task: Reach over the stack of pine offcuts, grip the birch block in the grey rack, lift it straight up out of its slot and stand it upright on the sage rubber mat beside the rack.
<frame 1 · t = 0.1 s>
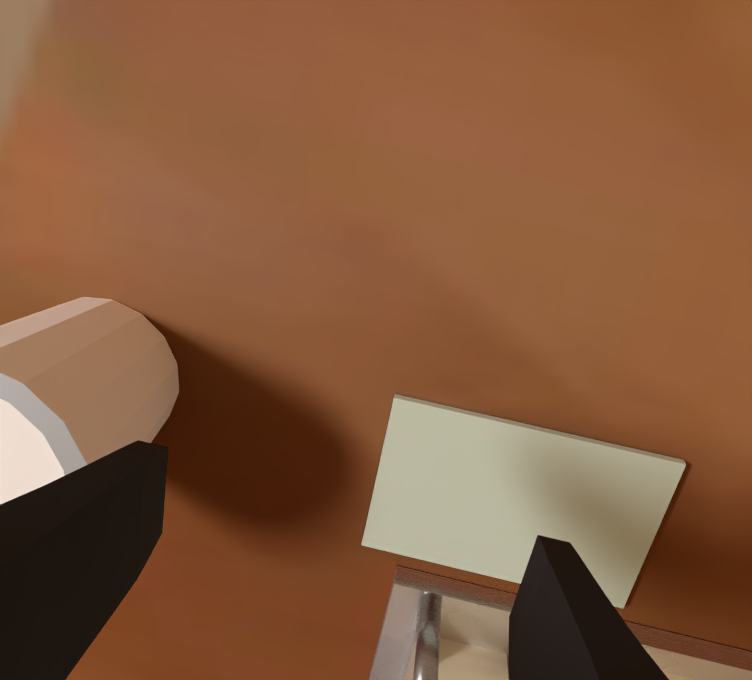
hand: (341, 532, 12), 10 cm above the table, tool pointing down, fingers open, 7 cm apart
white cylinder: (108, 368, 24), on the table
mat: (512, 502, 23), on the table
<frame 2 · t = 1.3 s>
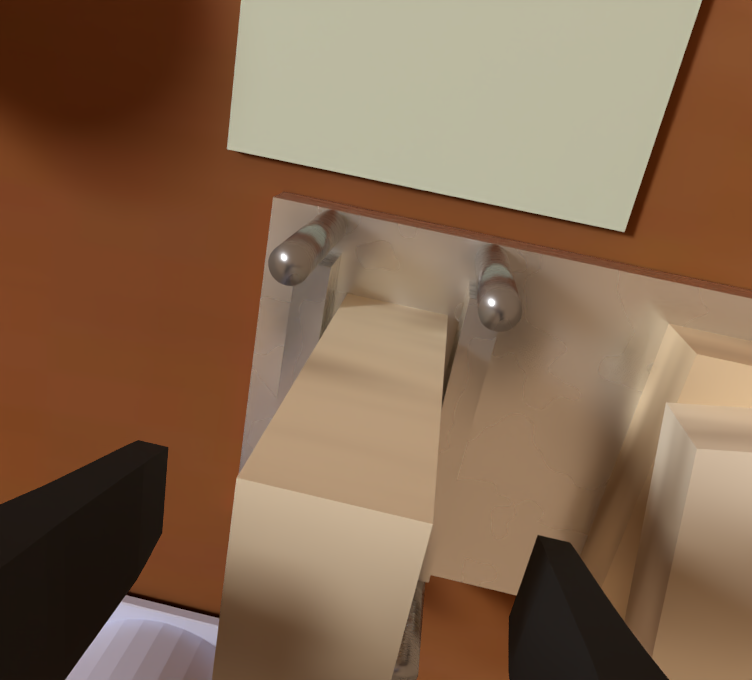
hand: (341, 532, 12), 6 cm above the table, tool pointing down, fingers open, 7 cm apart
birch block: (375, 408, 17), point 1 cm above the table, touching rack
mat: (452, 50, 15), on the table
rack: (536, 427, 18), on the table
offcut upper: (741, 532, 15), point 3 cm above the table, touching offcut lower
offcut lower: (710, 484, 17), point 1 cm above the table, touching offcut upper, rack
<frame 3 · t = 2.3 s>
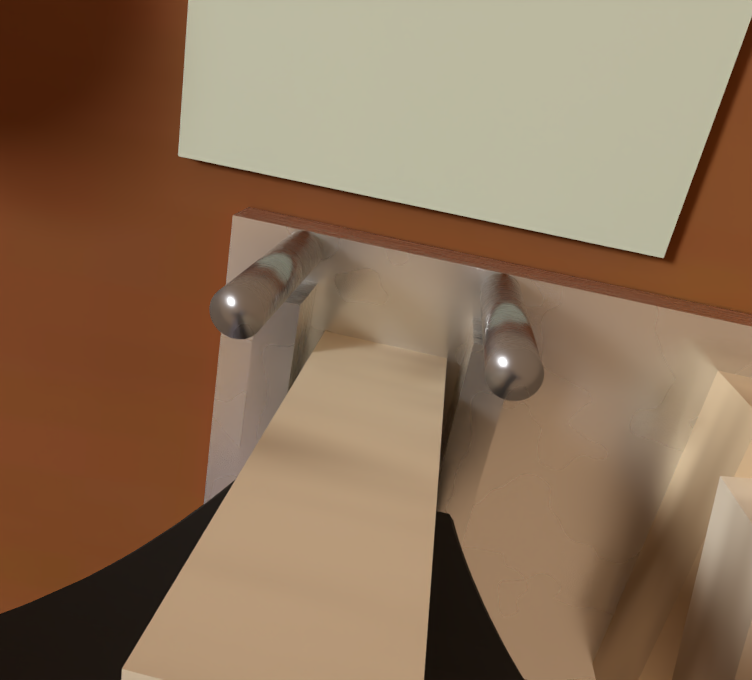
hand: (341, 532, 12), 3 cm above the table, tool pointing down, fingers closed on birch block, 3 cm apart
birch block: (360, 465, 14), point 1 cm above the table, touching gripper, rack
mat: (452, 34, 12), on the table
rack: (552, 486, 15), on the table
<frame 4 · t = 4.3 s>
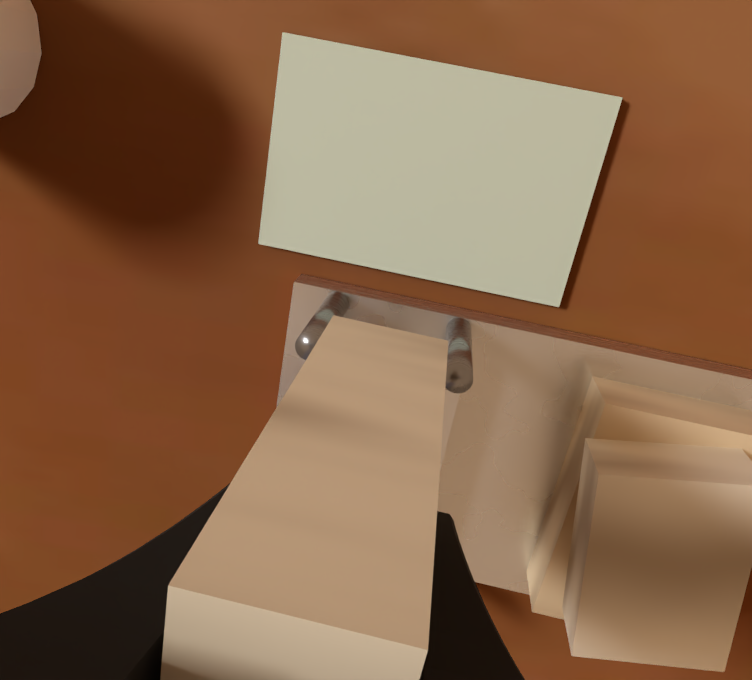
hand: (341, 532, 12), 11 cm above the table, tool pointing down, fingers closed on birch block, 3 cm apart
birch block: (366, 443, 15), point 7 cm above the table, touching gripper
mat: (427, 175, 20), on the table
rack: (498, 452, 23), on the table
offcut upper: (645, 533, 20), point 3 cm above the table, touching offcut lower
offcut lower: (630, 496, 22), point 1 cm above the table, touching offcut upper, rack
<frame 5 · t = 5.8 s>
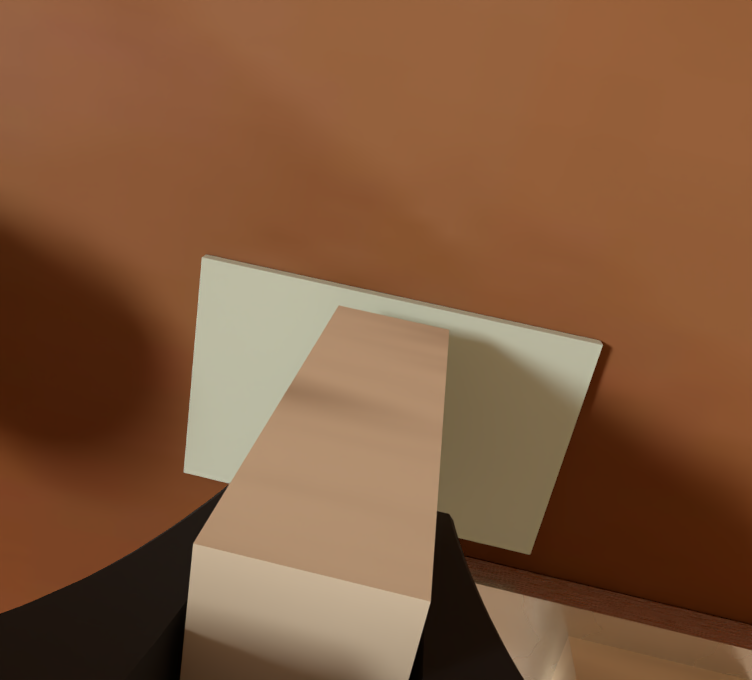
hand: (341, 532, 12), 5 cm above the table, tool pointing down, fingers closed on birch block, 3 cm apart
birch block: (370, 429, 16), point 1 cm above the table, touching gripper
mat: (376, 409, 17), on the table
when the fingers open (4 cm above the table, at t = 6.5 s): birch block stays where it is, resting on mat.
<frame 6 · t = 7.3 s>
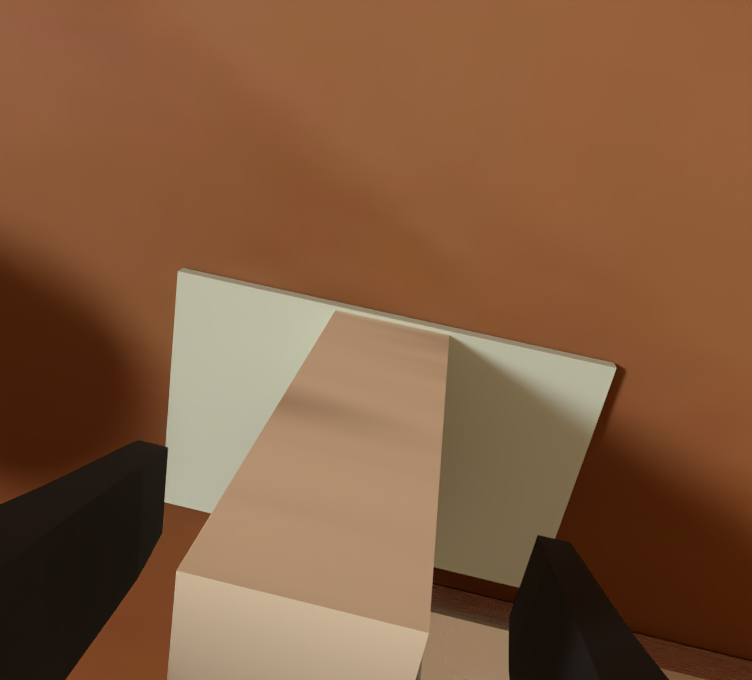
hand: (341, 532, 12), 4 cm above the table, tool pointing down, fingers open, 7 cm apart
birch block: (368, 437, 15), resting on mat
mat: (369, 434, 16), on the table
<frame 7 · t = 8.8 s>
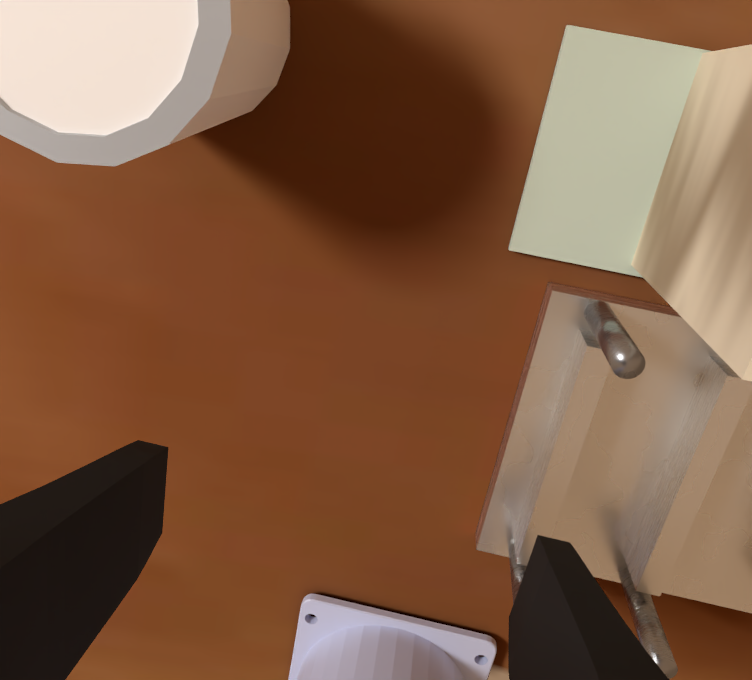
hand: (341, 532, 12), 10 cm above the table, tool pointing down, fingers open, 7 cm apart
white cylinder: (202, 25, 19), on the table
birch block: (709, 174, 18), resting on mat
mat: (704, 176, 19), on the table
rack: (740, 468, 22), on the table
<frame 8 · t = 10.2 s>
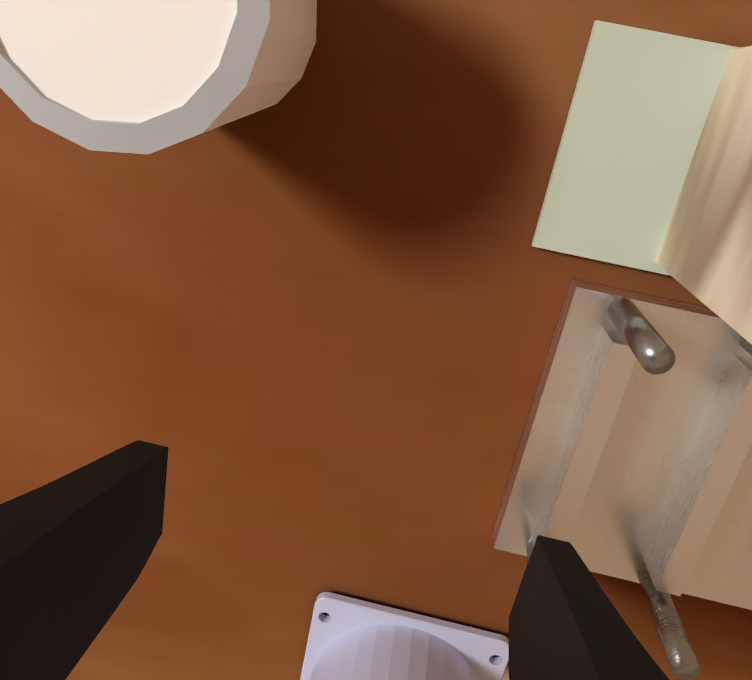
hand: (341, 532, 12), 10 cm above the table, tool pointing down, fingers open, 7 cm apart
white cylinder: (227, 17, 19), on the table
birch block: (736, 171, 18), resting on mat
mat: (730, 174, 19), on the table
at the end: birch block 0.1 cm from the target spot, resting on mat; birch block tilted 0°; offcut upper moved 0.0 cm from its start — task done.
